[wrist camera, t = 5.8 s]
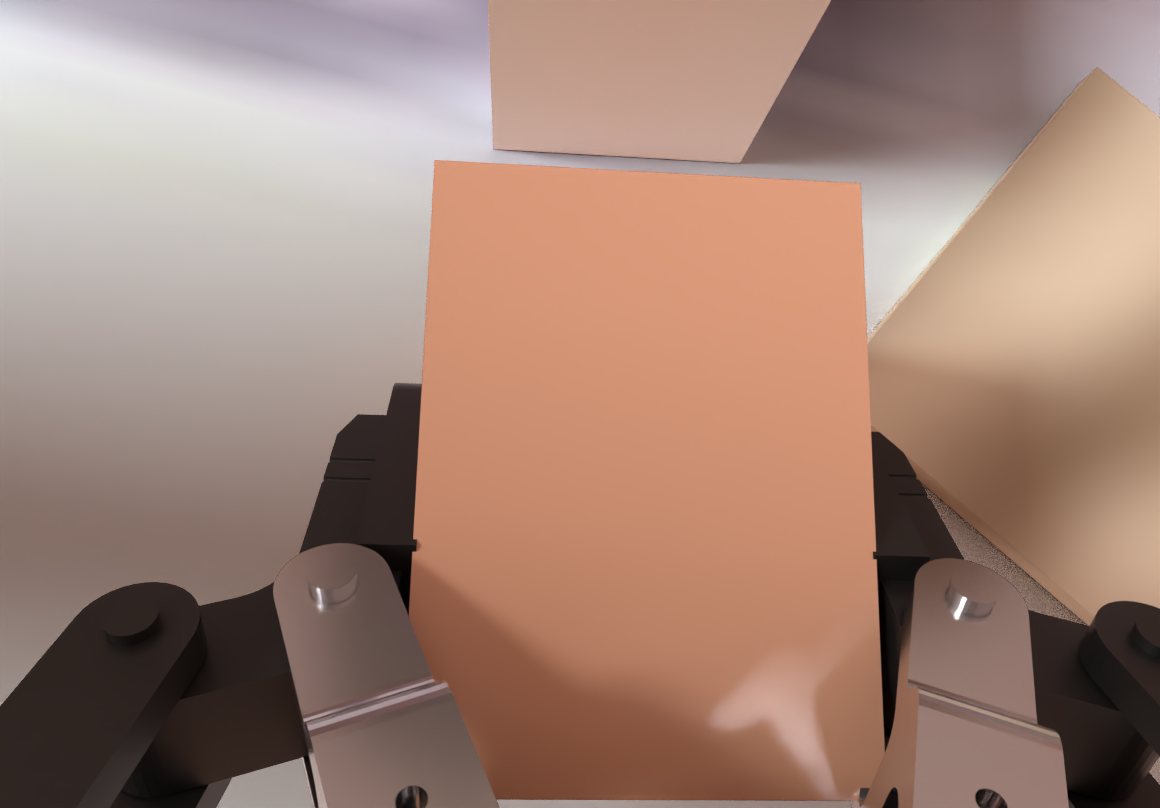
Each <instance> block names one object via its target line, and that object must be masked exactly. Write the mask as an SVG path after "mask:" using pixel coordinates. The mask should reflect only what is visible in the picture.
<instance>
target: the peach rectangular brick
mask: <svg viewBox="0 0 1160 808" xmlns="http://www.w3.org/2000/svg"><path fill="white" fill-rule="evenodd" d="M413 539H417V549H416V552H412V568H411V585H410V603H409V619H410V621H411V624H412V626H413V629H414V631H415V634H416V636H417V639H418V641H419V644H420V646H421V649H422V652H423V654H424V657H425V659H426V662H427V664H428V667H429V669H430V672H431V674H432V676H433V678H434V680H435V681H437V680H440V679H443V680H445V681H446V683H447V684H448V686H449V687H450V689H451V691H452V693H453V696H454V698H455V700H456V703H457V705H458V708H459V710H460V712H461V715H462V717H463V720H464V722H465V725H466V727H467V730H468V732H469V734H470V737H471V739H472V742H473V744H474V747H475V749H476V752H477V754H478V757H479V759H480V761H481V764H482V766H483V769H484V771H485V774H486V776H487V779H488V781H489V783H490V786H491V788H492V791H493V793H494V796H495V798H496V799H524V800H781V801H857V800H858V795H859V791H860V788H870V787H871V784H872V782H873V780H874V777H875V775H876V773H877V770H878V768H879V766H880V763H881V761H882V758H883V756H884V754H885V746H884V722H883V699H882V676H881V652H880V629H879V605H878V582H877V559H873V552H876V535H875V512H874V489H873V465H872V442H871V418H870V395H869V372H868V348H867V325H866V301H865V278H864V255H863V231H862V208H861V184H860V183H843V182H825V181H806V180H788V179H770V178H751V177H733V176H715V175H697V174H678V173H660V172H642V171H623V170H605V169H587V168H569V167H550V166H532V165H514V164H495V163H477V162H459V161H440V160H435V164H434V181H433V199H432V216H431V234H430V251H429V269H428V287H427V304H426V322H425V339H424V357H423V375H422V392H421V410H420V427H419V445H418V462H417V480H416V498H415V515H414V533H413Z"/></svg>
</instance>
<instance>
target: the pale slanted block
mask: <svg viewBox="0 0 1160 808" xmlns="http://www.w3.org/2000/svg"><path fill="white" fill-rule="evenodd" d="M830 1H831V0H488V15H489V43H490V72H491V100H492V129H493V149H502V150H519V151H536V152H554V153H571V154H589V155H606V156H624V157H641V158H659V159H676V160H694V161H711V162H729V163H740V162H741V161H742V159H743V157H744V155H745V153H746V152H747V150H748V148H749V146H750V145H751V143H752V141H753V139H754V137H755V136H756V134H757V132H758V130H759V128H760V127H761V125H762V123H763V121H764V120H765V118H766V116H767V114H768V112H769V111H770V109H771V107H772V105H773V103H774V102H775V100H776V98H777V96H778V94H779V93H780V91H781V89H782V87H783V86H784V84H785V82H786V80H787V78H788V77H789V75H790V73H791V71H792V69H793V68H794V66H795V64H796V62H797V60H798V59H799V57H800V55H801V53H802V52H803V50H804V48H805V46H806V44H807V43H808V41H809V39H810V37H811V35H812V34H813V32H814V30H815V28H816V27H817V25H818V23H819V21H820V19H821V18H822V16H823V14H824V12H825V10H826V9H827V7H828V5H829V3H830Z"/></svg>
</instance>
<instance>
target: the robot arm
mask: <svg viewBox="0 0 1160 808" xmlns="http://www.w3.org/2000/svg"><path fill="white" fill-rule="evenodd" d="M421 392H422V384H409V383H395V384H394V387H393V391H392V395H391V399H390V403H389V407H388V411H387V415H360V414H358V415H357V416H356V417H355V418H354V419H353V420H352V421H351V422H350V423H349V424H348V425H347V426H346V427H344V428H343V429H342V430H341V431H340V432H339V433H338V434H337V437H336V440H335V443H334V446H333V450H332V453H331V456H330V463H328V465H327V468H326V472H325V475H324V482H322V484H321V487H320V491H319V494H318V497H317V500H316V503H315V506H314V510H313V513H312V516H311V519H310V522H309V525H308V529H307V532H306V535H305V538H304V541H303V544H302V547H301V551H300V553H299V555H297V556H296V557H294V558H293V559H291V560H290V561H289V562H288V563H287V564H286V565H285V566H284V567H283V568H282V569H281V570H280V572H279V574H278V575H277V577H276V580H275V582H273V583H272V584H270V585H269V586H267V587H265V588H263V589H261V590H259V591H256V592H254V593H251V594H248V595H245V596H241V597H238V598H233V599H229V600H224V601H220V602H215V603H211V604H206V605H202V606H198V604H197V602H196V600H195V598H194V597H193V596H192V595H191V594H190V593H189V592H187V591H186V590H185V589H183V588H180V587H178V586H176V585H172V584H168V583H159V582H147V583H139V584H133V585H129V586H125V587H122V588H119V589H116V590H114V591H111V592H109V593H107V594H105V595H103V596H101V597H100V598H98V599H96V600H95V601H93V602H92V603H90V604H89V605H88V606H87V607H85V608H84V609H83V610H82V611H81V612H80V613H79V614H78V615H77V616H76V617H75V618H74V620H73V621H72V622H71V623H70V624H69V626H68V627H67V628H66V629H65V630H64V632H63V633H62V634H61V635H60V636H59V637H58V639H57V640H56V641H55V642H54V643H53V645H52V646H51V647H50V648H49V649H48V650H47V652H46V653H45V654H44V655H43V656H42V658H41V659H40V660H39V661H38V662H37V663H36V665H35V666H34V667H33V668H32V669H31V671H30V672H29V673H28V674H27V675H26V677H25V678H24V679H23V680H22V681H21V682H20V684H19V685H18V686H17V687H16V688H15V690H14V691H13V692H12V693H11V694H10V695H9V697H8V698H7V699H6V700H5V701H4V703H3V704H2V705H1V706H0V808H216V807H217V805H218V803H219V801H220V800H221V798H222V796H223V794H224V792H225V790H226V788H227V786H228V785H229V782H230V780H231V778H232V777H235V776H239V775H242V774H246V773H249V772H253V771H256V770H259V769H263V768H266V767H270V766H273V765H277V764H280V763H284V762H287V761H291V760H294V759H298V758H301V757H302V761H303V765H304V769H305V774H306V778H307V782H308V787H309V791H310V795H311V800H312V804H313V808H499V806H498V803H497V801H496V798H495V796H494V793H493V791H492V788H491V786H490V783H489V781H488V779H487V776H486V774H485V771H484V769H483V766H482V764H481V761H480V759H479V757H478V754H477V752H476V749H475V747H474V744H473V742H472V739H471V737H470V734H469V732H468V730H467V727H466V725H465V722H464V720H463V717H462V715H461V712H460V710H459V708H458V705H457V703H456V700H455V698H454V696H453V693H452V691H451V689H450V687H449V686H448V684H447V683H446V681H445V680H443V679H440V680H437V681H435V680H434V678H433V676H432V674H431V672H430V669H429V667H428V664H427V662H426V659H425V657H424V654H423V652H422V649H421V646H420V644H419V641H418V639H417V636H416V634H415V631H414V629H413V626H412V624H411V621H410V619H409V603H410V585H411V568H412V552H416V549H417V539H413V533H414V515H415V498H416V480H417V462H418V445H419V427H420V410H421ZM871 442H872V465H873V489H874V512H875V535H876V552H873V559H877V582H878V605H879V629H880V652H881V676H882V699H883V722H884V746H885V754H884V756H883V758H882V761H881V763H880V766H879V768H878V770H877V773H876V775H875V777H874V780H873V782H872V784H871V787H870V788H860V791H859V795H858V800H857V801H852V803H851V808H1160V785H1159V784H1158V783H1157V781H1156V780H1155V779H1154V778H1153V777H1152V775H1151V774H1150V773H1149V771H1150V769H1151V768H1152V766H1153V765H1154V764H1155V762H1156V761H1157V759H1158V758H1159V757H1160V609H1159V608H1157V607H1154V606H1151V605H1148V604H1144V603H1139V602H1134V601H1115V602H1111V603H1108V604H1106V605H1104V606H1102V607H1101V608H1100V609H1099V610H1098V612H1097V613H1096V615H1095V617H1094V619H1093V621H1092V622H1091V624H1090V626H1086V625H1083V624H1079V623H1075V622H1071V621H1067V620H1063V619H1059V618H1056V617H1052V616H1048V615H1044V614H1040V613H1037V612H1033V611H1030V610H1028V608H1027V605H1026V602H1025V600H1024V598H1023V597H1022V595H1021V594H1020V592H1019V591H1018V590H1017V589H1016V588H1015V587H1014V586H1013V585H1012V584H1011V583H1010V582H1009V581H1008V580H1007V579H1005V578H1004V577H1002V576H1001V575H999V574H998V573H996V572H994V571H993V570H991V569H989V568H987V567H985V566H982V565H980V564H977V563H974V562H971V561H967V560H964V558H963V556H962V555H961V553H960V551H959V549H958V548H957V546H956V544H955V542H954V541H953V539H952V537H951V535H950V533H949V532H948V530H947V528H946V526H945V525H944V523H943V521H942V519H941V517H940V516H939V514H938V512H937V510H936V509H935V507H934V505H933V503H932V502H931V500H930V499H927V493H926V491H925V489H924V487H923V486H922V484H921V482H920V480H917V479H916V476H917V475H916V473H915V471H914V470H913V468H912V466H911V464H910V463H909V461H908V459H907V457H906V456H905V454H904V452H903V451H901V450H900V449H899V448H898V447H897V446H895V445H894V444H893V443H892V442H891V441H890V440H888V439H887V438H886V437H885V436H884V435H882V434H881V433H880V432H871Z"/></svg>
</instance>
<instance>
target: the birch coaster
mask: <svg viewBox="0 0 1160 808" xmlns="http://www.w3.org/2000/svg"><path fill="white" fill-rule="evenodd" d="M867 348H868V372H869V395H870V418H871V432H880V433H881V434H882V435H884V436H885V437H886V438H887V439H888V440H890V441H891V442H892V443H893V444H894V445H895V446H897V447H898V448H899V449H900V450H901V451H903V452H904V454H905V456H906V457H907V459H908V461H909V463H910V464H911V466H912V468H913V470H914V471H915V473H916V475H917V476H916V479H918V480H920V482H921V483H922V484H923V485H925V486H926V487H927V488H928V489H929V490H930V491H932V492H933V493H934V494H935V495H936V496H937V497H939V498H940V499H941V500H942V501H943V502H944V503H946V504H947V505H948V506H949V507H950V508H952V509H953V510H954V511H955V512H956V513H957V514H959V515H960V516H961V517H962V518H963V519H964V520H966V521H967V522H968V523H969V524H970V525H971V526H973V527H974V528H975V529H976V530H977V531H978V532H980V533H981V534H982V535H983V536H984V537H985V538H987V539H988V540H989V541H990V542H991V543H992V544H994V545H995V546H996V547H997V548H998V549H999V550H1001V551H1002V552H1003V553H1004V554H1005V555H1006V556H1008V557H1009V558H1010V559H1011V560H1012V561H1013V562H1015V563H1016V564H1017V565H1018V566H1019V567H1020V568H1022V569H1023V570H1024V571H1025V572H1026V573H1027V574H1029V575H1030V576H1031V577H1032V578H1033V579H1034V580H1036V581H1037V582H1038V583H1039V584H1040V585H1041V586H1043V587H1044V588H1045V589H1046V590H1047V591H1048V592H1050V593H1051V594H1052V595H1053V596H1054V597H1055V598H1057V599H1058V600H1059V601H1060V602H1061V603H1062V604H1064V605H1065V606H1066V607H1067V608H1068V609H1069V610H1071V611H1072V612H1073V613H1074V614H1075V615H1076V616H1078V617H1079V618H1080V619H1081V620H1082V621H1083V622H1085V623H1086V624H1087V625H1088V626H1090V624H1091V622H1092V621H1093V619H1094V617H1095V615H1096V613H1097V612H1098V610H1099V609H1100V608H1101V607H1102V606H1104V605H1106V604H1108V603H1111V602H1115V601H1134V602H1139V603H1144V604H1148V605H1151V606H1154V607H1157V608H1159V609H1160V117H1159V116H1157V115H1156V114H1155V113H1154V112H1152V111H1151V110H1150V109H1149V108H1147V107H1146V106H1145V105H1144V104H1142V103H1141V102H1140V101H1139V100H1138V99H1136V98H1135V97H1134V96H1133V95H1131V94H1130V93H1129V92H1128V91H1126V90H1125V89H1124V88H1123V87H1121V86H1120V85H1119V84H1118V83H1116V82H1115V81H1114V80H1113V79H1111V78H1110V77H1109V76H1108V75H1106V74H1105V73H1104V72H1103V71H1101V70H1100V69H1099V68H1098V67H1097V68H1096V69H1095V70H1094V71H1093V72H1092V73H1090V74H1089V75H1088V76H1087V77H1086V78H1085V79H1083V80H1082V81H1081V82H1080V83H1079V84H1078V86H1077V87H1076V88H1075V89H1074V90H1073V92H1072V93H1071V94H1070V95H1069V97H1068V98H1067V99H1066V100H1065V101H1064V103H1063V104H1062V105H1061V106H1060V107H1059V109H1058V110H1057V111H1056V112H1055V113H1054V115H1053V116H1052V117H1051V118H1050V119H1049V121H1048V122H1047V123H1046V124H1045V125H1044V127H1043V128H1042V129H1041V130H1040V131H1039V133H1038V134H1037V135H1036V136H1035V137H1034V139H1033V140H1032V141H1031V142H1030V143H1029V145H1028V146H1027V147H1026V148H1025V149H1024V151H1023V152H1022V153H1021V154H1020V155H1019V157H1018V158H1017V159H1016V160H1015V161H1014V163H1013V164H1012V165H1011V166H1010V167H1009V169H1008V170H1007V171H1006V172H1005V173H1004V175H1003V176H1002V177H1001V178H1000V179H999V181H998V182H997V183H996V184H995V185H994V187H993V188H992V189H991V190H990V191H989V193H988V194H987V195H986V196H985V197H984V199H983V200H982V201H981V202H980V203H979V205H978V206H977V207H976V208H975V209H974V211H973V212H972V213H971V214H970V215H969V217H968V218H967V219H966V220H965V221H964V223H963V224H962V225H961V226H960V227H959V229H958V230H957V231H956V232H955V233H954V235H953V236H952V237H951V238H950V239H949V241H948V242H947V243H946V244H945V245H944V247H943V248H942V249H941V250H940V251H939V253H938V254H937V255H936V256H935V257H934V259H933V260H932V261H931V262H930V263H929V265H928V266H927V267H926V268H925V269H924V271H923V272H922V273H921V274H920V275H919V277H918V278H917V279H916V280H915V281H914V283H913V284H912V285H911V286H910V287H909V289H908V290H907V291H906V292H905V293H904V295H903V296H902V297H901V298H900V299H899V301H898V302H897V303H896V304H895V305H894V307H893V308H892V309H891V310H890V311H889V313H888V314H887V315H886V316H885V317H884V319H883V320H882V321H881V322H880V323H879V325H878V326H877V327H876V328H875V329H874V331H873V332H872V333H871V334H870V335H869V337H868V338H867Z"/></svg>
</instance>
